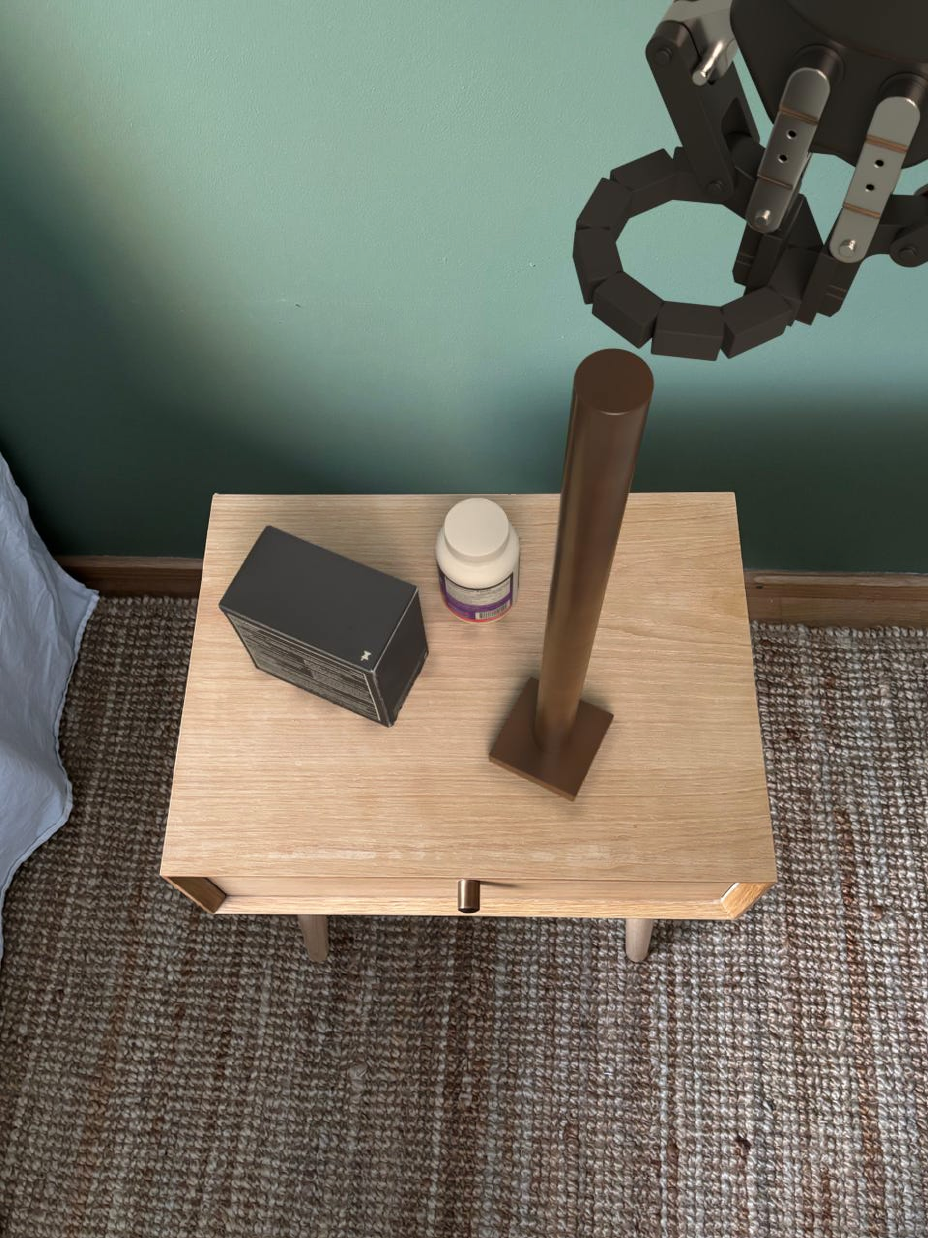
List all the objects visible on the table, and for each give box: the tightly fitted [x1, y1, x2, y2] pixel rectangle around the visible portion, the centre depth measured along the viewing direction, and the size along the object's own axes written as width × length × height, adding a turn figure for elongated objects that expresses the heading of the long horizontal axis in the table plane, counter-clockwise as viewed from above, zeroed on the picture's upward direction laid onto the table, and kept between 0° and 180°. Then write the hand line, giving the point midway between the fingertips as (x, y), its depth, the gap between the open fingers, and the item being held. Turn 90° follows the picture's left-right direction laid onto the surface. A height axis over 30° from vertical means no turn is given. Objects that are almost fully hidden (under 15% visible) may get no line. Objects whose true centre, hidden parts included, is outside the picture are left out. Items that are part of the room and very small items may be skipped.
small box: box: [217, 524, 430, 729], centre depth 65 cm, size 11×6×10 cm, turn 65°
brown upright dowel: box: [489, 347, 655, 803], centre depth 49 cm, size 6×6×40 cm
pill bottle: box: [434, 497, 521, 626], centre depth 67 cm, size 5×5×10 cm
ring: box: [571, 145, 824, 362], centre depth 39 cm, size 9×9×1 cm
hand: (783, 295), depth 38 cm, fingers closed on ring, 1 cm apart
